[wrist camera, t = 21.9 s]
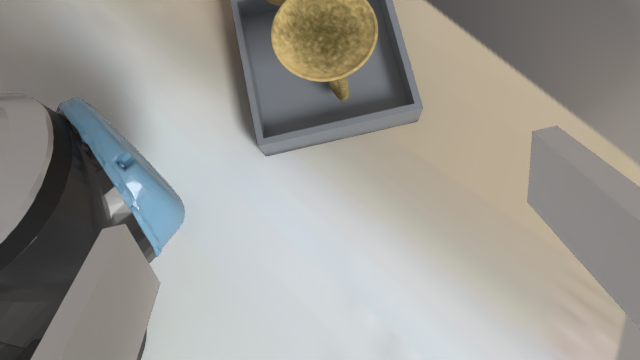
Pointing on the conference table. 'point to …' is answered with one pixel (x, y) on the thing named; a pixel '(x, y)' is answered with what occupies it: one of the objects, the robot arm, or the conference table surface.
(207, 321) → the conference table surface
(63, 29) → the conference table surface
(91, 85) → the conference table surface
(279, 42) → the wall sconce
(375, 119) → the tray
